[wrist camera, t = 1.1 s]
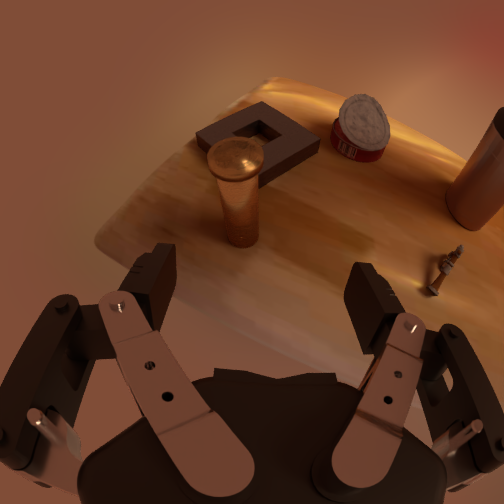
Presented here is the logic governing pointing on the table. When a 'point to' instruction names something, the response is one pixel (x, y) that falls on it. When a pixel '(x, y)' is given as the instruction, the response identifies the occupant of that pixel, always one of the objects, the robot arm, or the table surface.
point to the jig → (273, 128)
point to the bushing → (238, 186)
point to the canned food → (361, 129)
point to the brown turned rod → (446, 269)
